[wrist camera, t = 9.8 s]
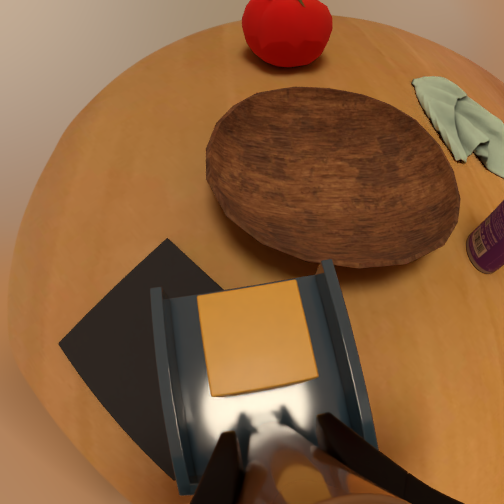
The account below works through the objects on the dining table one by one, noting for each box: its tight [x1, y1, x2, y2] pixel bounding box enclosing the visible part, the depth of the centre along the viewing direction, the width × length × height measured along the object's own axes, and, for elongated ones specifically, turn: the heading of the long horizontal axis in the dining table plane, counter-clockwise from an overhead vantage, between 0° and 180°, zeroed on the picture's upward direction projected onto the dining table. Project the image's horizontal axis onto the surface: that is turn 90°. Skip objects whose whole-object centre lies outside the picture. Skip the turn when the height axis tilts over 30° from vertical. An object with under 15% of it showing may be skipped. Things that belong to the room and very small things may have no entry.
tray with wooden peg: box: [150, 259, 411, 504], centre depth 9 cm, size 10×9×13 cm
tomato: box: [242, 0, 332, 67], centre depth 34 cm, size 12×13×12 cm
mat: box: [58, 238, 223, 480], centre depth 22 cm, size 13×14×1 cm
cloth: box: [412, 76, 504, 178], centre depth 33 cm, size 20×22×2 cm
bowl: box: [206, 87, 460, 268], centre depth 26 cm, size 20×22×5 cm
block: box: [197, 280, 319, 397], centre depth 13 cm, size 4×4×4 cm
